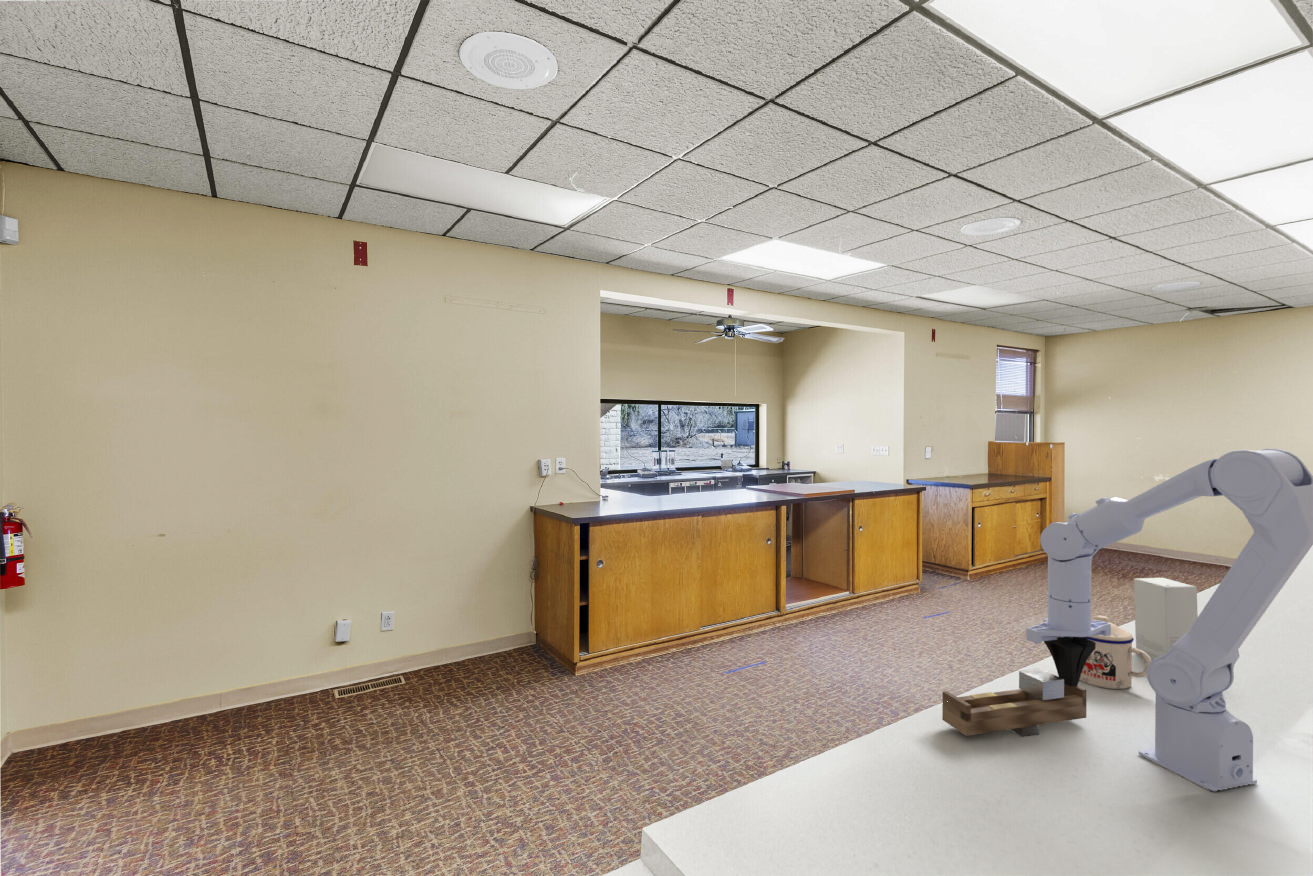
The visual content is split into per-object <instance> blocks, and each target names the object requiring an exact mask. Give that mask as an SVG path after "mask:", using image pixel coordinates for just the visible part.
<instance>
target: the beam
mask: <svg viewBox="0 0 1313 876" xmlns="http://www.w3.org/2000/svg"><path fill="white" fill-rule="evenodd" d="M1087 694H1088V693H1087V689H1086V688H1084V687H1082V686H1079V685H1077V686H1069V685H1066V684H1064V697H1063V698H1056V699H1048V700H1041V699H1039V700H1032V701H1029V700H1028V693H1027V692H1025V691H1023V690H1021V689H1019V688H1018V689H1011V690H1003V691H997V692H992V691H991V692H983V693H982V692H981V693H973V694H969V695H965V696H956V695H955V694H954V693H951V692H950V691H948V690H944V691H942V703H943V704H942V703H941V704H942V711H941V712H942V718H941V719H942V721H944V722H945V723H947V724H948V725H949V726H951V727H952V728H954V729H955V730H957V731H959V732H960V733H962V734H963V735H965V736H972V735H981V734H987V733H992V732H993V733H995V732H1000V731H1007V730H1010V731H1012V732H1013V733H1015V734H1016V735H1018V736H1019V737H1021V738H1026V737H1033V736H1039V735H1040V726H1041V725H1046V724H1047V725H1048V724H1053V723H1061V722H1067V721H1074V720H1075V721H1076V720H1080V719H1081V720H1082V719H1087V700H1088V699H1087ZM947 701H948V702H947ZM1039 725H1040V726H1039Z"/></svg>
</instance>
